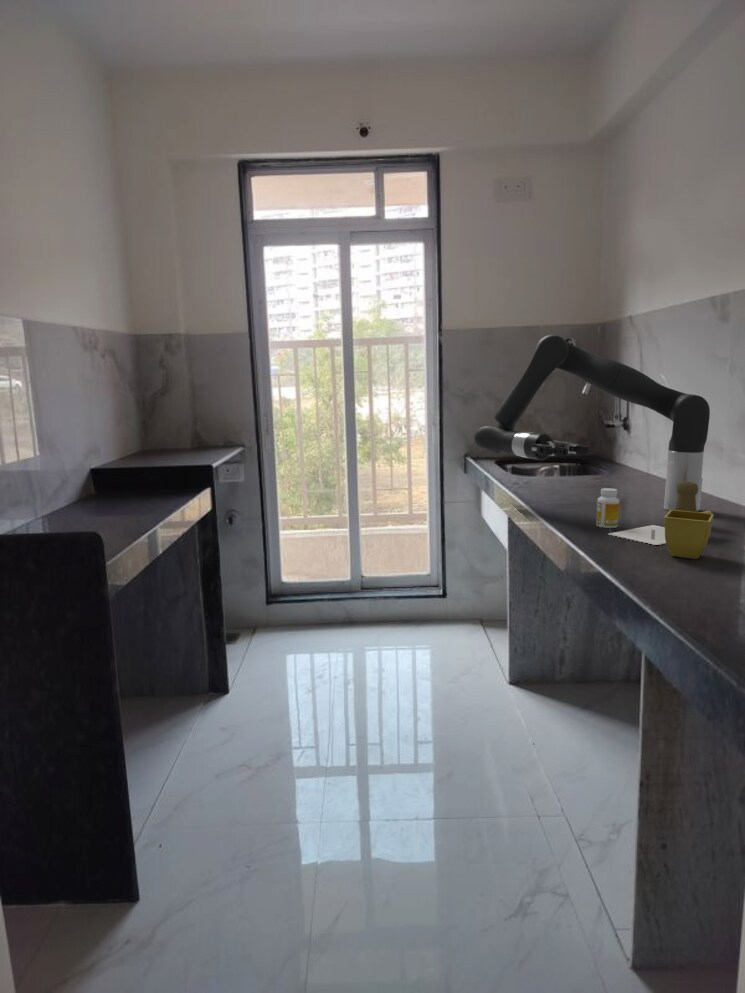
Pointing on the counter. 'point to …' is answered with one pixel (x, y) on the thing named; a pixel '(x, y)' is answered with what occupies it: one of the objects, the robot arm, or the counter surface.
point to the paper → (644, 534)
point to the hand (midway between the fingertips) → (577, 451)
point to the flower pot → (687, 532)
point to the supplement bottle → (607, 509)
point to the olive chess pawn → (686, 496)
